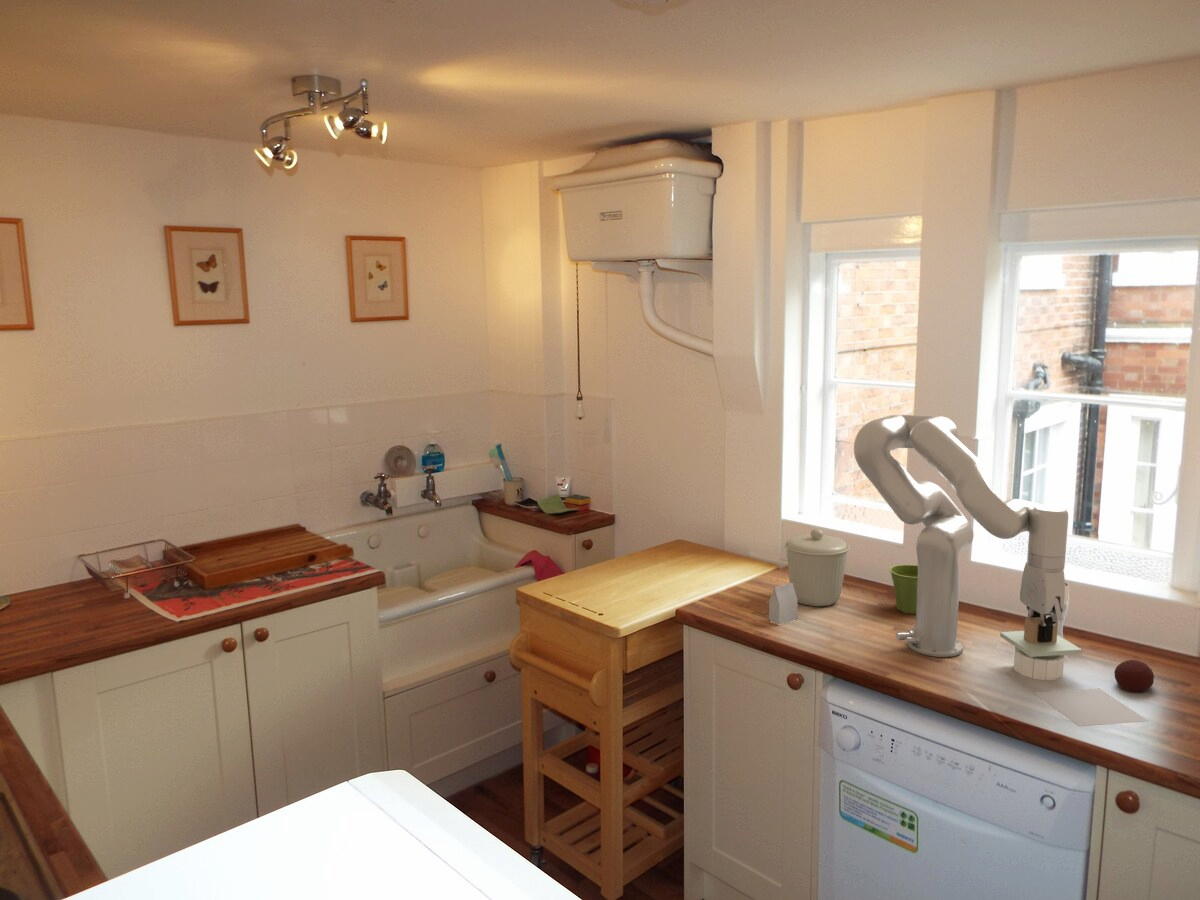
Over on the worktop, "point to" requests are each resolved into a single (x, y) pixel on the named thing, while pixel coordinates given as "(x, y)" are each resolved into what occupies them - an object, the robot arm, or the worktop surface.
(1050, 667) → the bowl
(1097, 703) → the mat
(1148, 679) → the potato
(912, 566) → the plant pot
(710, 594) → the worktop surface
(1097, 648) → the worktop surface
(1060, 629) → the beer glass
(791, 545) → the canister
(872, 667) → the worktop surface
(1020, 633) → the board
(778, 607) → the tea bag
